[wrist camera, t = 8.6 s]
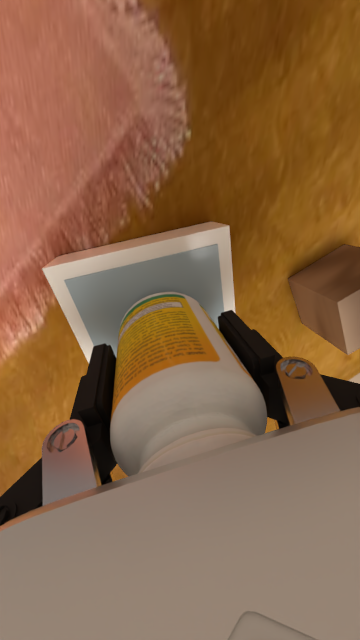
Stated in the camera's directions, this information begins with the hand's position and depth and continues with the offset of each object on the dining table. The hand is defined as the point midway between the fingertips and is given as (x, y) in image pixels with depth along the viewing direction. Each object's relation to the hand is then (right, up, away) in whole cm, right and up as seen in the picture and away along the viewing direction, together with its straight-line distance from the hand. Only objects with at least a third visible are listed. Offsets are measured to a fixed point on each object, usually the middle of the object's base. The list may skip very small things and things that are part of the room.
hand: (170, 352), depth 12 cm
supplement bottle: (-1, +1, +2) cm, 2 cm away
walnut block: (+12, +5, +8) cm, 15 cm away
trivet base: (-1, +3, +5) cm, 6 cm away
